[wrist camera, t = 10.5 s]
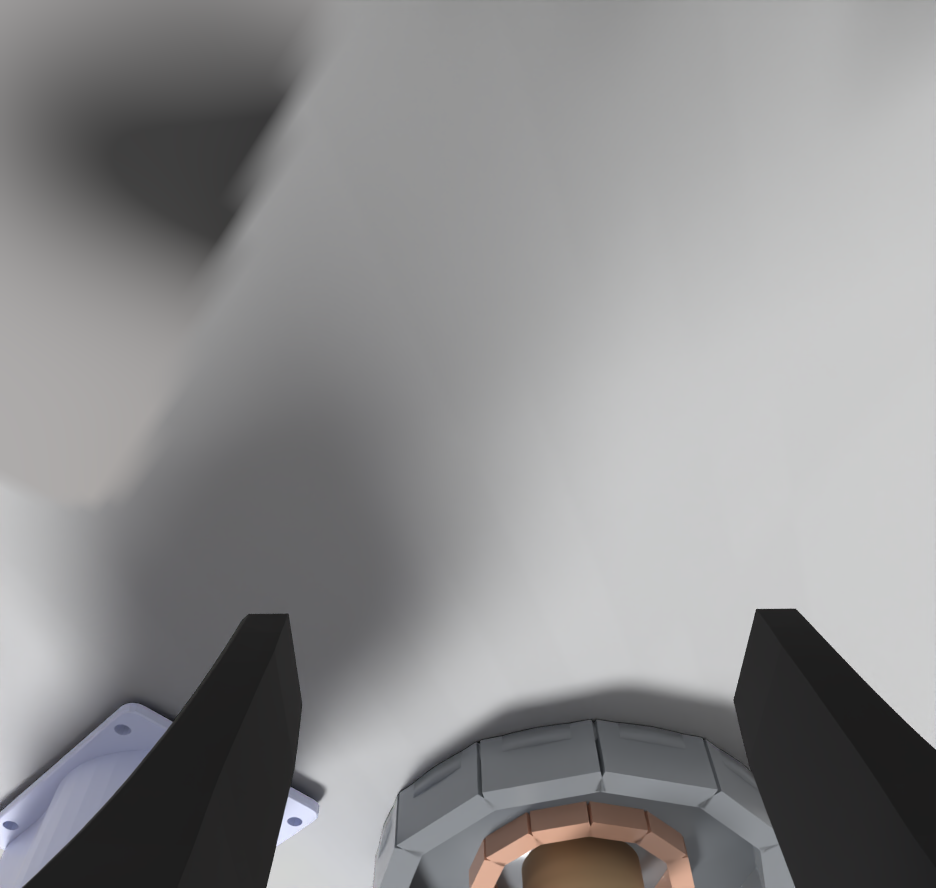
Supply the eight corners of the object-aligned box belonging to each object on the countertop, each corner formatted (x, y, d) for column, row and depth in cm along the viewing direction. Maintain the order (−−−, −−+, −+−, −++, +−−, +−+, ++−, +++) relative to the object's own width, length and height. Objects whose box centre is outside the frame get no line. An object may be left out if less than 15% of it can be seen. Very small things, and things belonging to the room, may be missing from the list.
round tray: (560, 993, 38) (565, 1044, 36) (296, 858, 32) (288, 911, 30) (855, 850, 32) (877, 902, 31) (601, 655, 27) (611, 706, 25)
